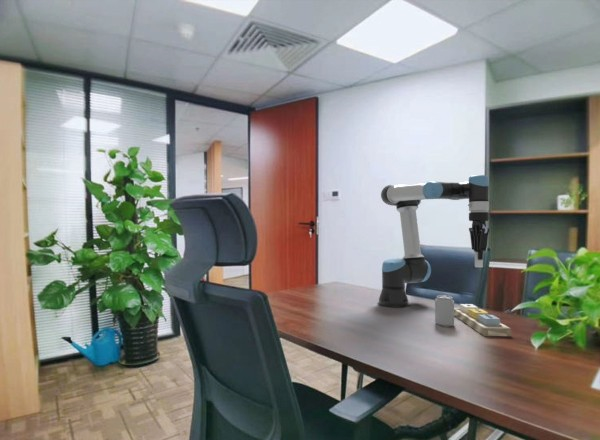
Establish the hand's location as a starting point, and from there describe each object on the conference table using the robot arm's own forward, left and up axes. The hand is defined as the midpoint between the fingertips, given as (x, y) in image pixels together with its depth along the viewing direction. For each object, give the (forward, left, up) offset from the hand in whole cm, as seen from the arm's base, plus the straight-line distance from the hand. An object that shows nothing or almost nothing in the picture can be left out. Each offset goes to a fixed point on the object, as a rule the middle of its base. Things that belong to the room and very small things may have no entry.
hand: (478, 267), depth 143 cm
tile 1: (-9, 0, -22) cm, 24 cm away
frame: (0, 0, -24) cm, 24 cm away
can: (+1, -15, -25) cm, 29 cm away
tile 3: (+8, 0, -22) cm, 23 cm away
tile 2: (0, 0, -22) cm, 22 cm away
